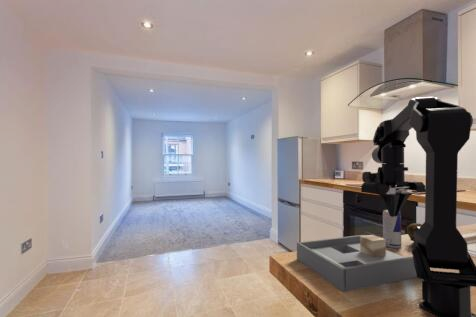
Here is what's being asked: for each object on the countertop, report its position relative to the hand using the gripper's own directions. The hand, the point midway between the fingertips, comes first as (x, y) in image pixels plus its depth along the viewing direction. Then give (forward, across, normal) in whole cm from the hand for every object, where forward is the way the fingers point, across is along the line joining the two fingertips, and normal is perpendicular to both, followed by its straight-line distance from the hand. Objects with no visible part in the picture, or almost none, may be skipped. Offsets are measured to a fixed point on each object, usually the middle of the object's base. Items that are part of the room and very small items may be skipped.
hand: (393, 216), depth 73 cm
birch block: (+10, +8, 0) cm, 13 cm away
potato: (+13, -21, -7) cm, 26 cm away
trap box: (+13, +14, 0) cm, 19 cm away
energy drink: (+13, -11, -10) cm, 20 cm away
